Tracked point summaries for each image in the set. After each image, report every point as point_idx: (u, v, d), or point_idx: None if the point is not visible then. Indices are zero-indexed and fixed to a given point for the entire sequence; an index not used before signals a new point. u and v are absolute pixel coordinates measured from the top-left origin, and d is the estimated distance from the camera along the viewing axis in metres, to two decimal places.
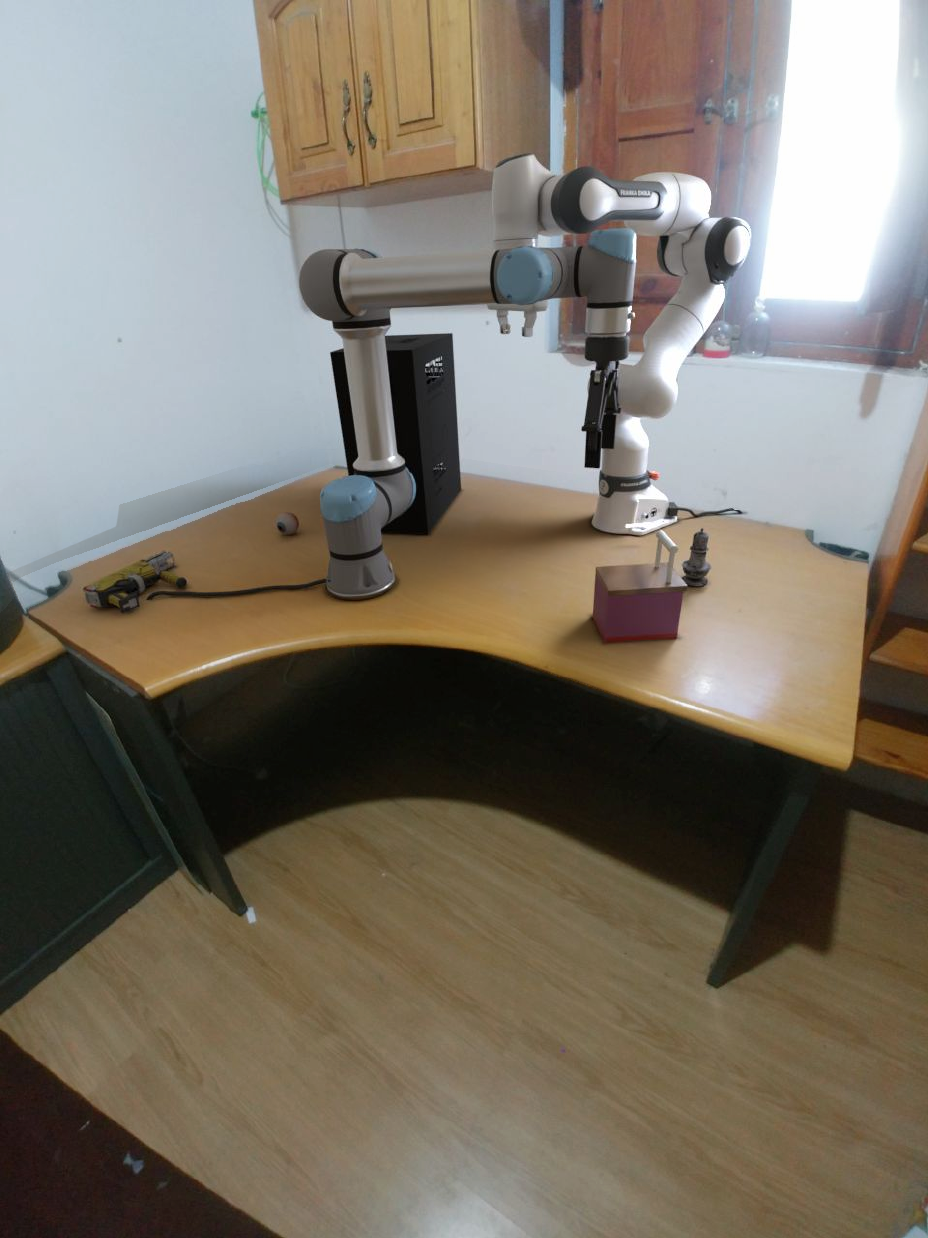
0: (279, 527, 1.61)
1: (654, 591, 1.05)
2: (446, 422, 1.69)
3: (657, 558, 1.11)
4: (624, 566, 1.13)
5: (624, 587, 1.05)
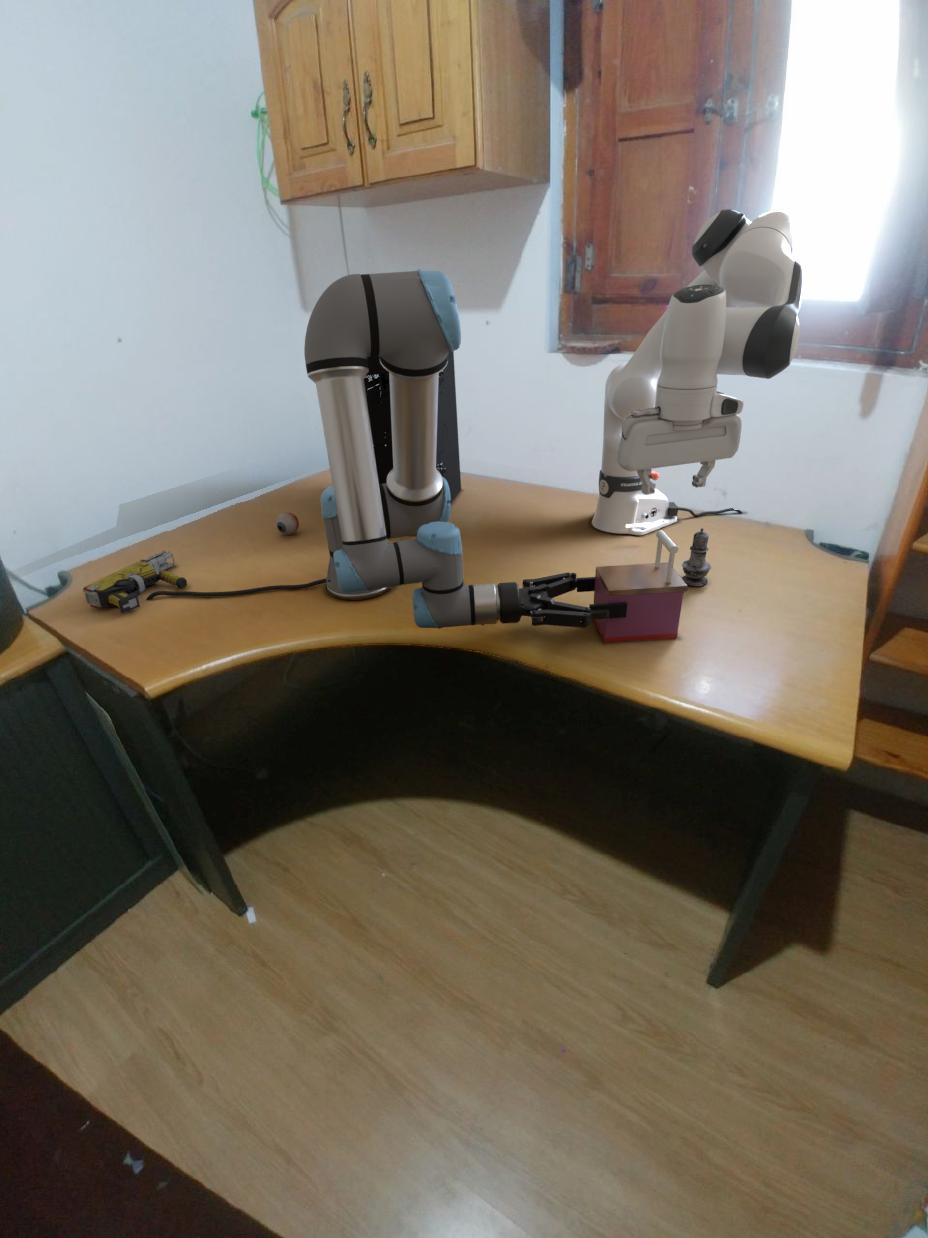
0: (279, 527, 1.61)
1: (654, 591, 1.05)
2: (446, 422, 1.69)
3: (657, 558, 1.11)
4: (624, 566, 1.13)
5: (624, 587, 1.05)
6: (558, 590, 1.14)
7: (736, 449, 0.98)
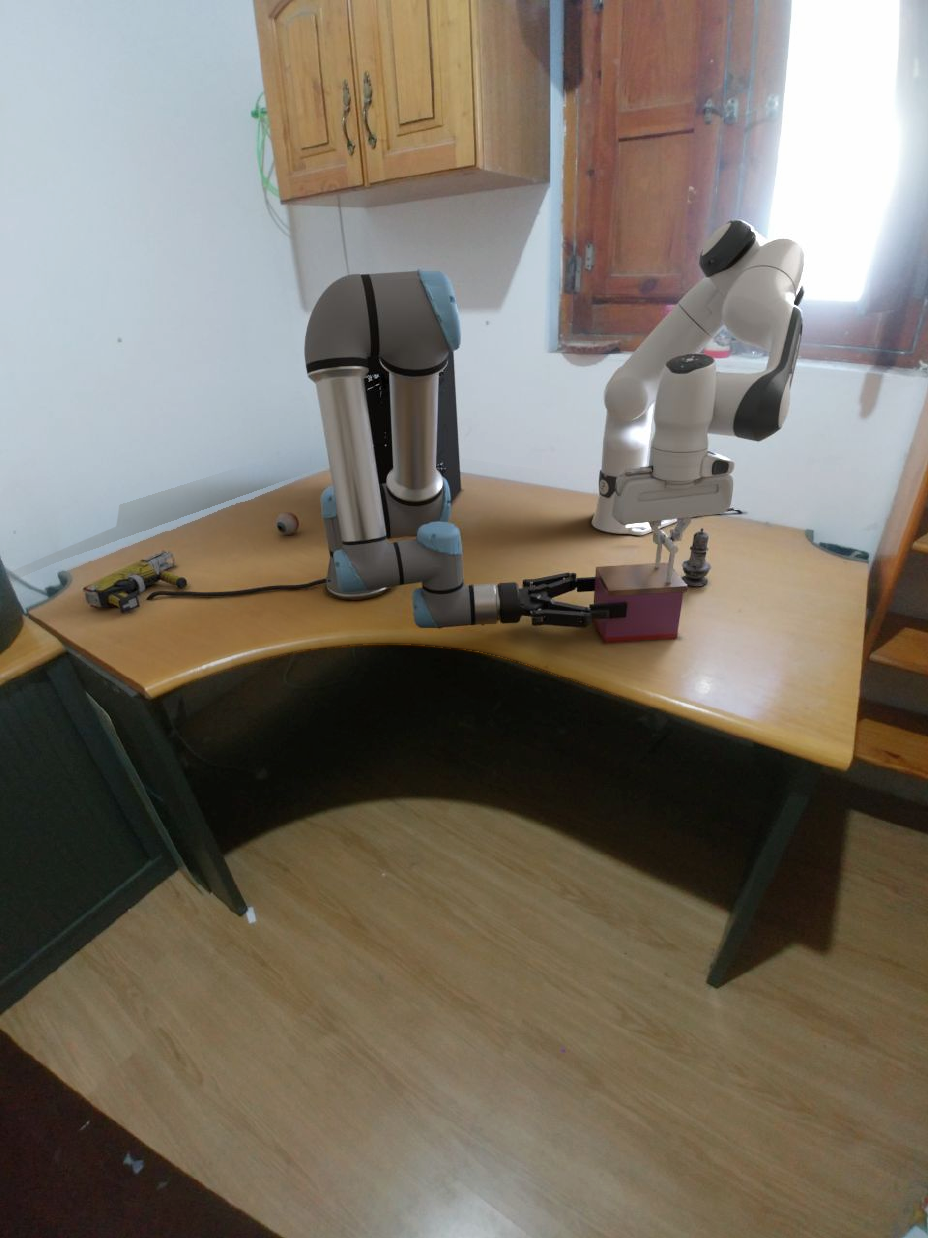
0: (279, 527, 1.61)
1: (654, 591, 1.05)
2: (446, 422, 1.69)
3: (657, 558, 1.11)
4: (624, 566, 1.13)
5: (624, 587, 1.05)
6: (558, 590, 1.14)
7: (728, 505, 1.02)
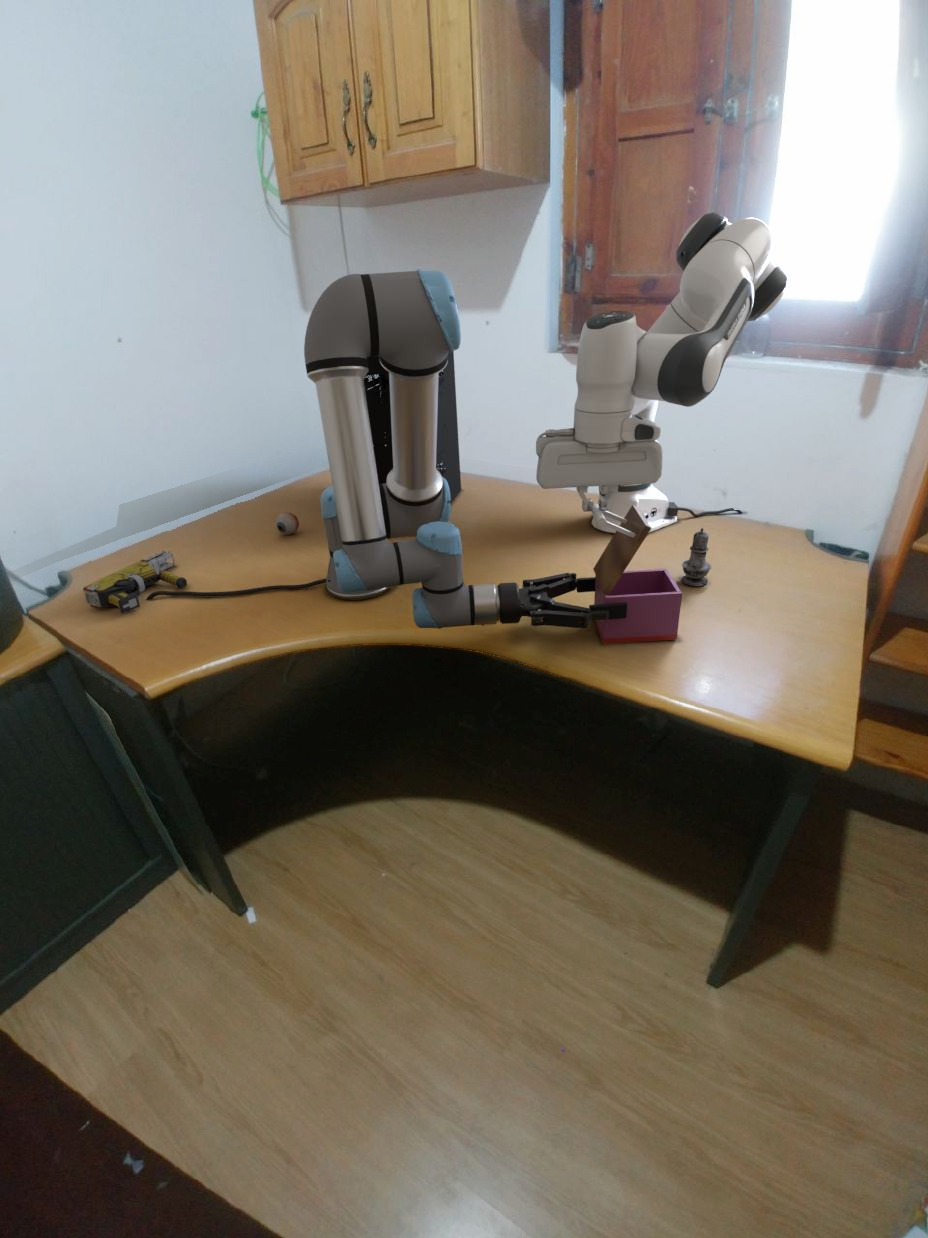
0: (279, 527, 1.61)
1: (631, 556, 1.01)
2: (446, 422, 1.69)
3: (616, 519, 1.06)
4: (607, 546, 1.10)
5: (610, 577, 1.04)
6: (558, 590, 1.14)
7: (658, 475, 0.98)
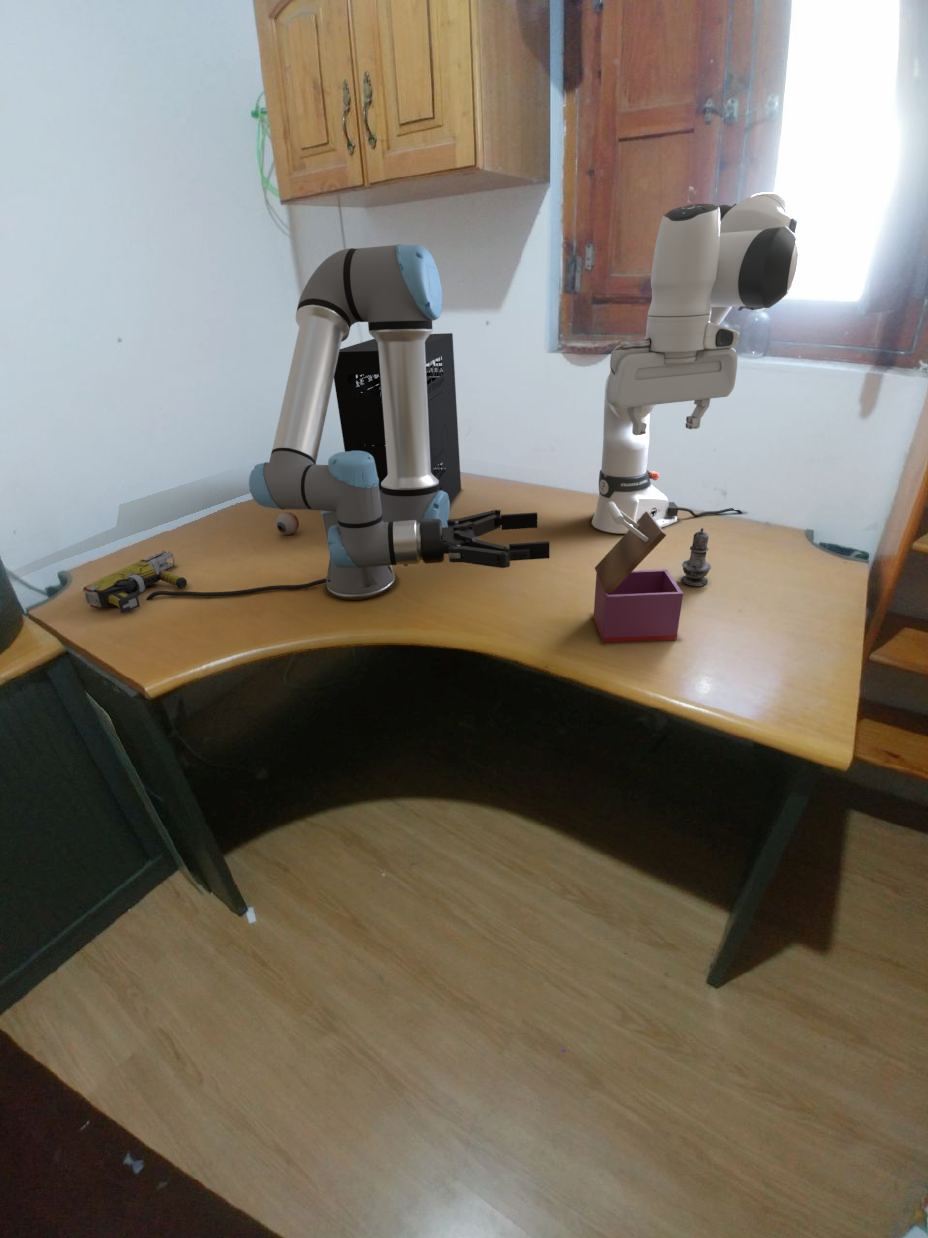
0: (279, 527, 1.61)
1: (640, 559, 1.02)
2: (446, 422, 1.69)
3: (629, 522, 1.07)
4: (613, 548, 1.11)
5: (615, 577, 1.04)
6: (483, 528, 1.08)
7: (732, 387, 0.93)
